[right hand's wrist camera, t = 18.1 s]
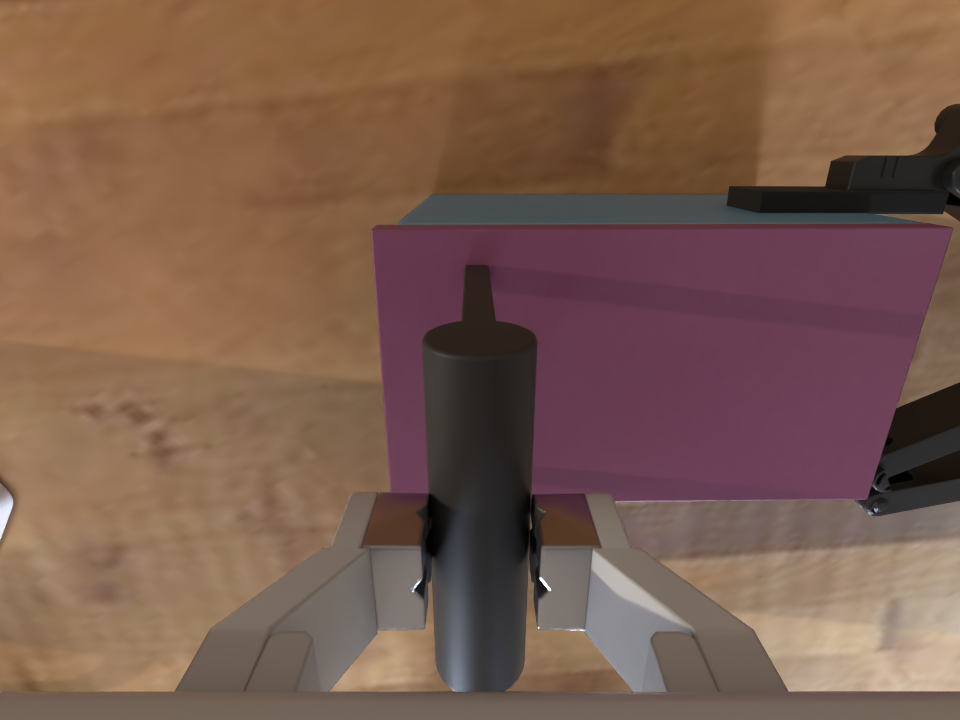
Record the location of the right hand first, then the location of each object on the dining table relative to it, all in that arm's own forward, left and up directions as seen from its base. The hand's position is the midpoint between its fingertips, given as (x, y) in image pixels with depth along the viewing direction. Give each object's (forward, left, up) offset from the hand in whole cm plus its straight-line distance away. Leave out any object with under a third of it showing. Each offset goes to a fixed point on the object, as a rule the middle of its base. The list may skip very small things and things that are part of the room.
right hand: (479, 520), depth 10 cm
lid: (+2, -5, -8) cm, 10 cm away
